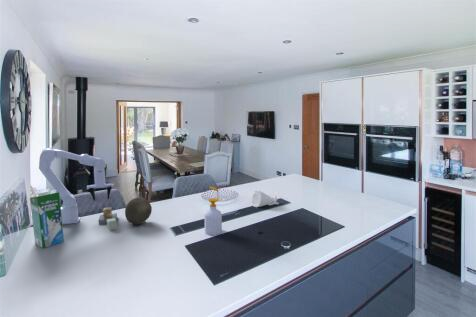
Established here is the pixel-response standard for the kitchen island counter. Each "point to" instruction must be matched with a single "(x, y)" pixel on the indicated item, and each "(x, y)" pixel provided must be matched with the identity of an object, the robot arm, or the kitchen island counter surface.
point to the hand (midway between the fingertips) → (101, 199)
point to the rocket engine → (263, 199)
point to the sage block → (111, 224)
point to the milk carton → (47, 219)
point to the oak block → (107, 212)
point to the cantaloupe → (138, 211)
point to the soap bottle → (213, 218)
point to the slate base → (103, 220)
